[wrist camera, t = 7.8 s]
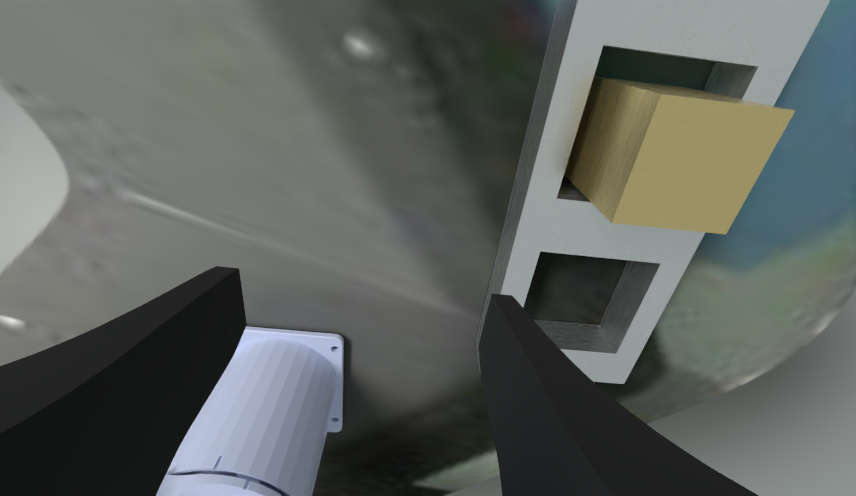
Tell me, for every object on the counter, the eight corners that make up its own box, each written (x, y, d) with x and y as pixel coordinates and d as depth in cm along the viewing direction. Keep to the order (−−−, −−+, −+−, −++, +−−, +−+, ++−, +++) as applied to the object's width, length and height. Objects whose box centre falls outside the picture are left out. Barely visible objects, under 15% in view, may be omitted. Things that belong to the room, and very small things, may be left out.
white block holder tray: (606, 354, 26) (624, 384, 23) (474, 342, 25) (479, 372, 23) (775, 2, 16) (831, -3, 14) (564, -30, 15) (588, -40, 13)
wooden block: (645, 180, 20) (725, 234, 14) (560, 171, 19) (611, 223, 14) (683, 87, 17) (795, 110, 12) (588, 75, 17) (661, 94, 12)
